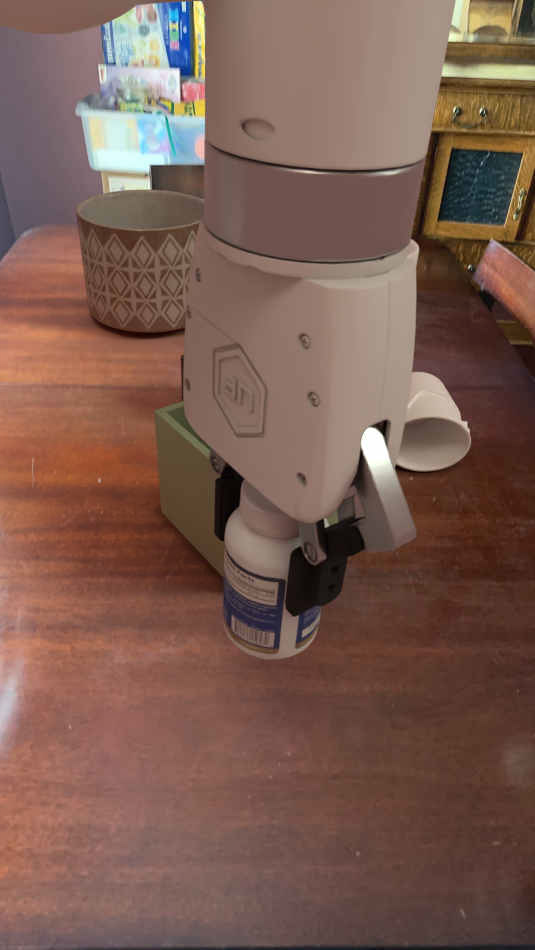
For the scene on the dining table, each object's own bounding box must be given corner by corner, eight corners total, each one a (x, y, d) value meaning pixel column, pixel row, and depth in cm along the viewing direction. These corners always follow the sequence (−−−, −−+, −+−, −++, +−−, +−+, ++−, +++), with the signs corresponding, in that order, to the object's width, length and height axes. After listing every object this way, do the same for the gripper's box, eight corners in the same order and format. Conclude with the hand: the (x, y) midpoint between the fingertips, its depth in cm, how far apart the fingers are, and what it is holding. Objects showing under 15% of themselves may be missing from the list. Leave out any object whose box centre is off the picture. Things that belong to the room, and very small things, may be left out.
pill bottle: (296, 579, 41) (312, 447, 35) (333, 648, 37) (358, 513, 31) (210, 600, 39) (211, 465, 33) (239, 674, 35) (247, 536, 29)
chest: (240, 596, 61) (243, 489, 53) (160, 511, 70) (153, 410, 62) (365, 530, 69) (383, 429, 61) (280, 461, 77) (286, 366, 70)
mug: (446, 429, 84) (459, 372, 79) (462, 475, 77) (479, 415, 72) (350, 425, 84) (358, 368, 79) (357, 471, 77) (367, 411, 72)
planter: (65, 328, 102) (48, 216, 92) (126, 283, 117) (118, 183, 107) (182, 352, 98) (178, 237, 88) (230, 302, 112) (232, 199, 102)
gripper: (105, 156, 27) (132, 499, 38) (410, 310, 17) (327, 723, 28) (255, 142, 31) (240, 458, 42) (581, 261, 21) (449, 642, 32)
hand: (275, 561), depth 35 cm, fingers closed on pill bottle, 5 cm apart
